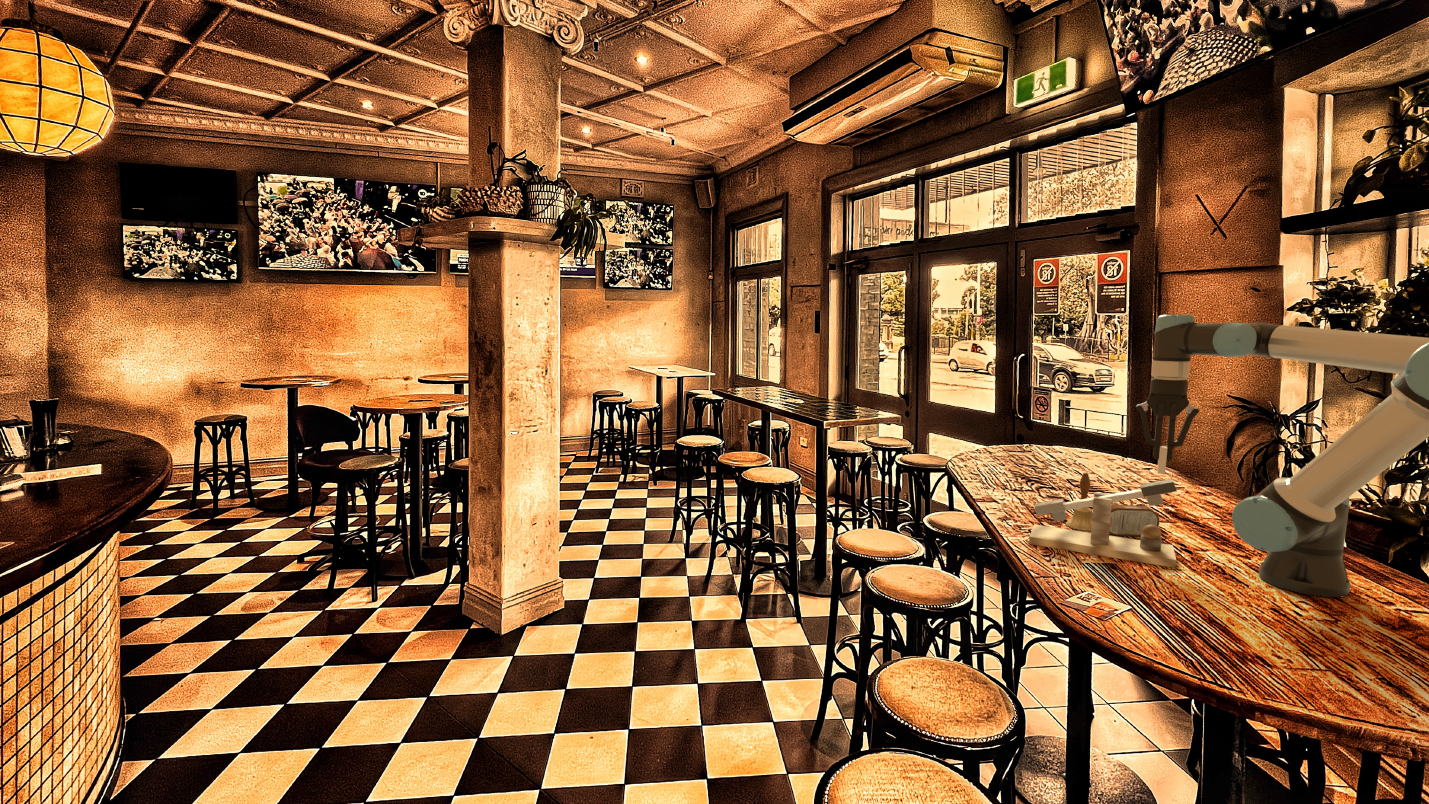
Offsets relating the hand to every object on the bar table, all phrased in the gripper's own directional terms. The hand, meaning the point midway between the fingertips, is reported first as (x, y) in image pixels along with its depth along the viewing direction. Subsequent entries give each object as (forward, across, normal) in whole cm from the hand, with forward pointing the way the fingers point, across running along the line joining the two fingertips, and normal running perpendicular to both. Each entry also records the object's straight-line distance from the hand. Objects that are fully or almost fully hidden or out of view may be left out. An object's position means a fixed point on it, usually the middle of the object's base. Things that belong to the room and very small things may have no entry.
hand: (1161, 472), depth 158 cm
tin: (+22, +5, -16) cm, 28 cm away
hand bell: (+22, +16, -18) cm, 33 cm away
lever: (+12, +11, 0) cm, 16 cm away
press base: (+22, +12, 0) cm, 25 cm away
